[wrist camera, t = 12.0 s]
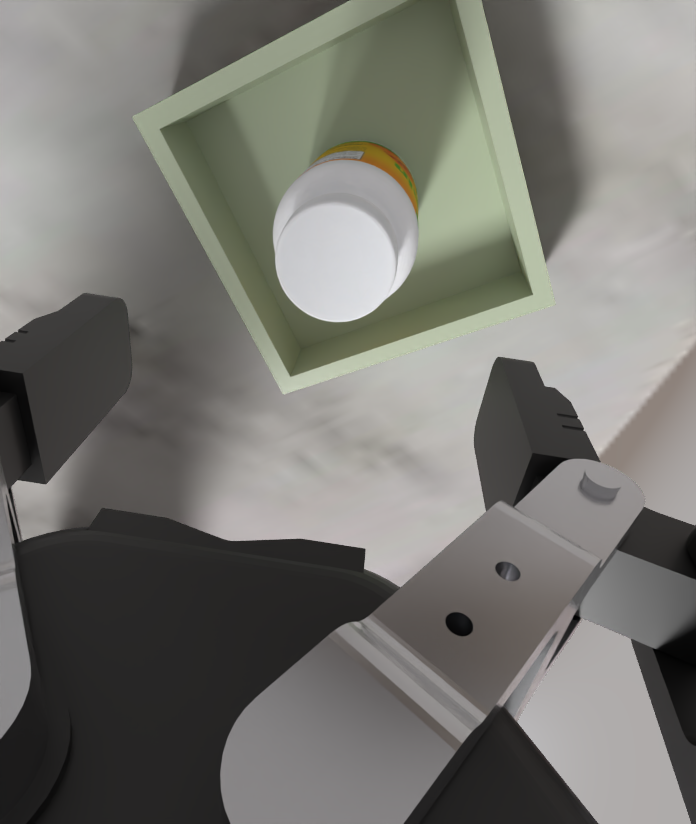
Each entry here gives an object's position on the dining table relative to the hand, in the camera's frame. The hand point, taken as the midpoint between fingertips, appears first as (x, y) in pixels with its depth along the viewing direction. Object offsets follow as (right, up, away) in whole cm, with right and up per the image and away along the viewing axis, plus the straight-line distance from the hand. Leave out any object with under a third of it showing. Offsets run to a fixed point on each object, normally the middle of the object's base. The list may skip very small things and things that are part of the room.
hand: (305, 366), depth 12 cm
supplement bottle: (+2, +9, +14) cm, 17 cm away
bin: (+2, +9, +15) cm, 17 cm away
